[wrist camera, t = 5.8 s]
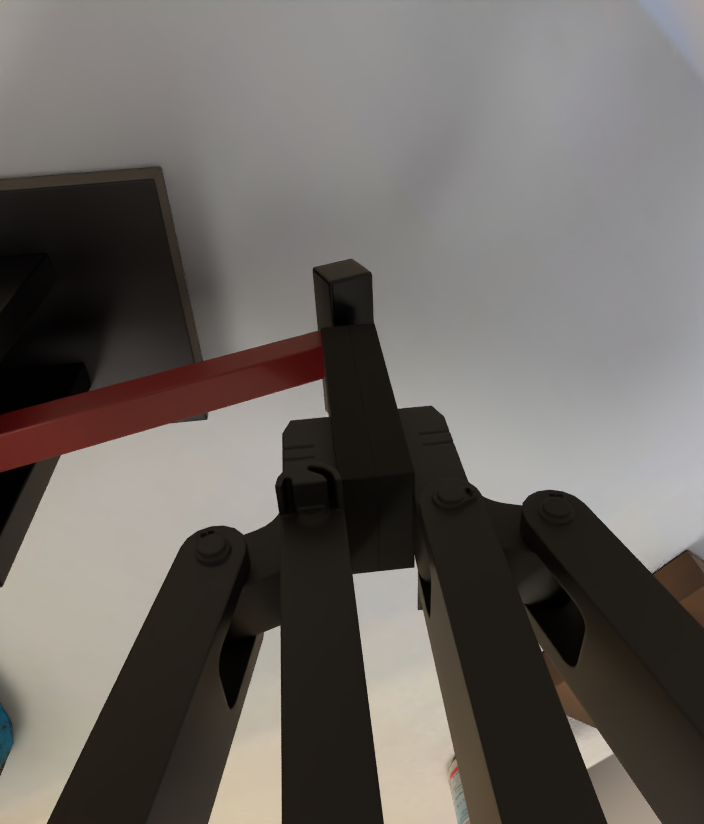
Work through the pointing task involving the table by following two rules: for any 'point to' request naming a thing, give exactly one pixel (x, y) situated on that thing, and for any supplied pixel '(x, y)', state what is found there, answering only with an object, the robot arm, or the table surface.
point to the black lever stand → (83, 304)
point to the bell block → (689, 584)
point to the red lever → (189, 382)
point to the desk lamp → (5, 738)
